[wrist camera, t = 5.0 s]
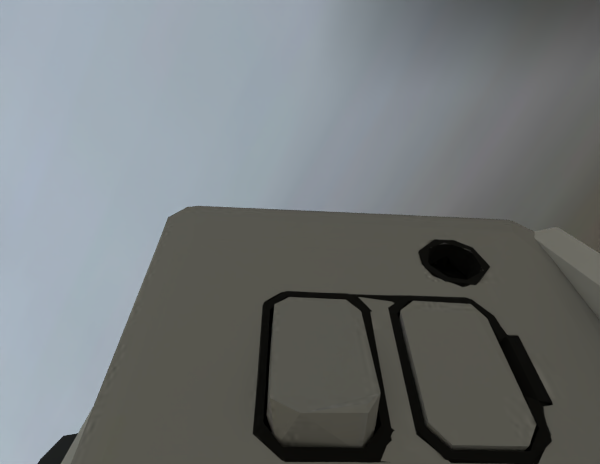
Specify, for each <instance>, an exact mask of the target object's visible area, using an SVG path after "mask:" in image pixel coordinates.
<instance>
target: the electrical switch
mask: <svg viewBox="0 0 600 464" xmlns="http://www.w3.org/2000/svg"><path fill="white" fill-rule="evenodd" d="M534 235H535V233H534V231H532V230H530V229H527V228H525V227H523V226H521V225H519V224H517V223H515V222H513V221H510V220H504V219H482V218H459V217H437V216H414V215H391V214H369V213H346V212H323V211H301V210H278V209H256V208H233V207H210V206H193V207H187V208H185V209H183V210H181V211H179V212H177V213H175V214H174V215H172V216H170V217H168V219H167V222H166V225H165V227H164V230H163V232H162V235H161V237H160V240H159V242H158V245H157V248H156V250H155V253H154V255H153V258H152V260H151V263H150V265H149V268H148V271H147V273H146V276H145V278H144V281H143V283H142V286H141V288H140V291H139V293H138V296H137V298H136V301H135V303H134V306H133V308H132V311H131V313H130V316H129V318H128V321H127V323H126V326H125V328H124V331H123V334H122V336H121V339H120V341H119V344H118V346H117V349H116V351H115V354H114V356H113V359H112V361H111V364H110V366H109V369H108V371H107V374H106V376H105V379H104V381H103V384H102V386H101V389H100V391H99V394H98V396H97V399H96V402H95V404H94V407H93V409H92V412H91V414H90V417H89V419H88V422H87V424H86V427H85V429H84V432H83V434H82V437H81V439H80V442H79V444H78V447H77V449H76V452H75V454H74V457H73V459H72V462H71V464H600V320H599V319H598V317H597V316H596V315H595V313H594V312H593V311H592V310H591V308H590V307H589V306H588V304H587V303H586V302H585V301H584V299H583V298H582V297H581V295H580V294H579V293H578V292H577V290H576V289H575V288H574V286H573V285H572V284H571V283H570V281H569V280H568V279H567V277H566V276H565V275H564V273H563V272H562V271H561V270H560V268H559V267H558V266H557V264H556V263H555V262H554V261H553V259H552V258H551V257H550V256H549V255H548V254H547V252H546V251H545V250H544V249H543V248H542V247H541V245H540V244H539V243H538V242H537V241H536V240H535V238H534Z"/></svg>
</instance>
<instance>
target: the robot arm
mask: <svg viewBox="0 0 600 464" xmlns="http://www.w3.org/2000/svg"><path fill="white" fill-rule="evenodd" d="M534 233H535V235H534V238H535V240H536V241H537V242H538V243H539V244H540V245H541V247H542V248H543V249H544V250H545V251H546V252H547V254H548V255H549V256H550V257H551V258H552V259H553V261H554V262H555V263H556V264H557V266H558V267H559V268H560V270H561V271H562V272H563V273H564V275H565V276H566V277H567V279H568V280H569V281H570V283H571V284H572V285H573V286H574V288H575V289H576V290H577V292H578V293H579V294H580V295H581V297H582V298H583V299H584V301H585V302H586V303H587V304H588V306H589V307H590V308H591V310H592V311H593V312H594V313H595V315H596V316H597V317H598V319H599V320H600V253H598V252H596V251H595V250H593V249H592V248H590V247H588V246H587V245H585V244H584V243H582V242H580V241H579V240H577V239H576V238H574V237H572V236H571V235H569V234H568V233H566V232H564V231H563V230H561V229H560V228H558V227H555V228H549V229H544V230H539V231H534ZM93 407H94V406H93ZM92 409H93V408H92ZM91 412H92V410H91ZM91 412H90V413H89V415H88V417H87V419H86V420H85V422H84V424H83V426H82V427H81V429H80V431H79V433H77V434H72V435H66V436H63V437H62V438H61V439H60V440H59V441H58V442H57V443H56V444H55V445H54V446H53V447H52V448H51V449H50V450H49V451H48V452H47V453H46V454H45V455H44V456H43V457H42V458H41V459H40V461H39V462H38V464H71V462H72V459H73V457H74V454H75V452H76V449H77V447H78V444H79V442H80V439H81V437H82V434H83V432H84V429H85V427H86V424H87V422H88V419H89V417H90V414H91Z"/></svg>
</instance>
